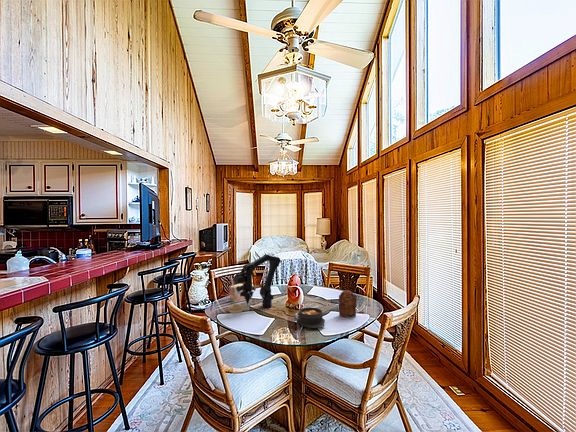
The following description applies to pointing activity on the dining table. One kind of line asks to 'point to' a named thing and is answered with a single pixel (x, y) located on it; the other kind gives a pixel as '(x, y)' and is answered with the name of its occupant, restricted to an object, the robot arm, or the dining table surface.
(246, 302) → the steel rod
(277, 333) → the dining table surface
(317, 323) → the casserole
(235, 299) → the stack of blocks
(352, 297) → the wooden figurine
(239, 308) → the wooden bead
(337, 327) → the dining table surface
